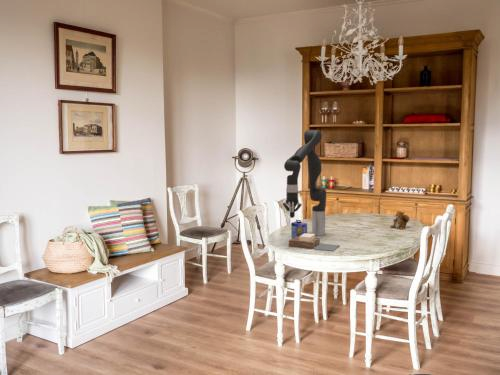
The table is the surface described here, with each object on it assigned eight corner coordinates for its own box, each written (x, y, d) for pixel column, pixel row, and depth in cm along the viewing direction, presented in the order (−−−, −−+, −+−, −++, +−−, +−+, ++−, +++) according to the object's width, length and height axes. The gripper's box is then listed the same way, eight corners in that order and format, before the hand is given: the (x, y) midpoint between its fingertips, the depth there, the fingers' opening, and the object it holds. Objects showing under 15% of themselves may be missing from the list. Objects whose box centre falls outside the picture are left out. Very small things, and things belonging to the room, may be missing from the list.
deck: (296, 242, 329) (296, 236, 329) (319, 244, 322) (319, 238, 322) (288, 246, 317) (288, 240, 317) (312, 249, 310) (312, 242, 309)
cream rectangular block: (304, 237, 324) (304, 233, 324) (314, 238, 321) (314, 234, 321) (299, 240, 315) (299, 236, 315) (309, 241, 312) (309, 237, 312)
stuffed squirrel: (389, 228, 373) (389, 210, 371) (400, 225, 381) (401, 208, 379) (400, 230, 365) (400, 212, 363) (411, 227, 373) (412, 210, 371)
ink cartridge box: (290, 240, 335) (290, 219, 333) (295, 238, 339) (295, 218, 337) (303, 242, 329) (303, 220, 327) (307, 240, 333) (307, 219, 331)
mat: (320, 244, 323) (320, 243, 323) (339, 246, 317) (339, 245, 317) (312, 249, 309) (312, 248, 309) (333, 251, 304) (333, 250, 304)
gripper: (303, 191, 320) (303, 217, 322) (285, 190, 326) (284, 216, 328) (299, 192, 313) (299, 219, 315) (280, 191, 319) (280, 217, 321)
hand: (292, 217), depth 321 cm, fingers closed
